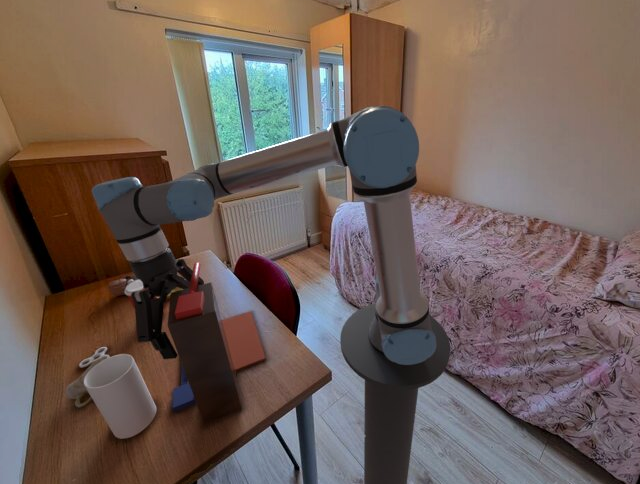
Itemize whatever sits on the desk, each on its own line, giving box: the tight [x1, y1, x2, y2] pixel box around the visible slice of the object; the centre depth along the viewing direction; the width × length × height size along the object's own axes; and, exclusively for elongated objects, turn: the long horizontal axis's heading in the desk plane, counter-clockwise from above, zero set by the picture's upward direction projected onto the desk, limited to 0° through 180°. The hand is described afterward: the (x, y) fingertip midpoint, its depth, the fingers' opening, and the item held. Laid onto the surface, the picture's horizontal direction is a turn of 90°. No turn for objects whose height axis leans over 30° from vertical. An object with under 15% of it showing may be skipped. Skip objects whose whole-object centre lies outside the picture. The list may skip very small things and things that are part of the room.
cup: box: [84, 353, 157, 439], centre depth 62 cm, size 8×8×16 cm
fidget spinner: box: [78, 346, 111, 368], centre depth 81 cm, size 7×6×1 cm
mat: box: [222, 311, 266, 372], centre depth 86 cm, size 12×22×1 cm, turn 27°
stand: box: [167, 282, 243, 426], centre depth 63 cm, size 8×11×29 cm
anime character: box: [108, 274, 139, 297], centre depth 111 cm, size 25×6×18 cm
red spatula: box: [175, 261, 204, 319], centre depth 61 cm, size 19×4×1 cm, turn 22°
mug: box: [65, 357, 107, 408], centre depth 71 cm, size 8×10×10 cm
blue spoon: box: [172, 365, 196, 413], centre depth 75 cm, size 19×4×1 cm, turn 27°
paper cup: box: [124, 280, 157, 310], centre depth 92 cm, size 8×8×14 cm
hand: (188, 334), depth 66 cm, fingers open, 13 cm apart
